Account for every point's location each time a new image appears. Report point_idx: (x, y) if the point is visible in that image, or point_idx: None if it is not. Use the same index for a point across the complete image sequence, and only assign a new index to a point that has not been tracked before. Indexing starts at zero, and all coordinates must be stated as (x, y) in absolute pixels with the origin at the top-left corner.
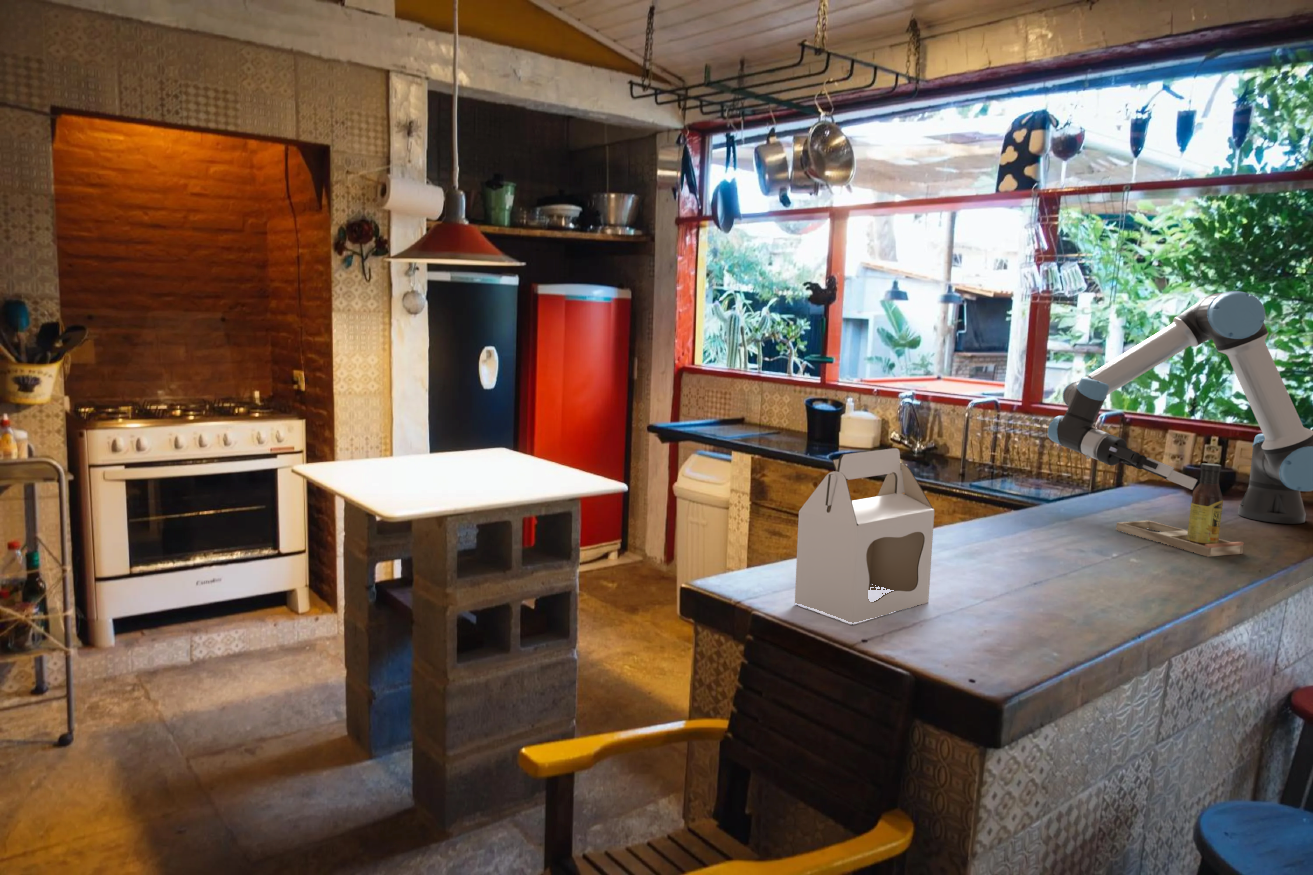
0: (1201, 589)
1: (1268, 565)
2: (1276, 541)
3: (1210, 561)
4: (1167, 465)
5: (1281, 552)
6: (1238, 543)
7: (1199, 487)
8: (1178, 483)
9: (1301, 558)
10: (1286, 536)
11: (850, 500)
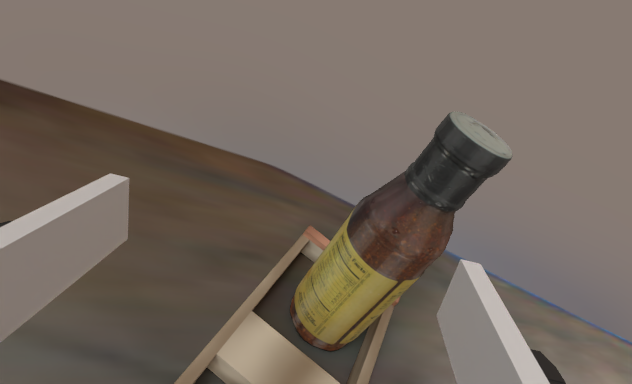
0: (565, 332)
1: None
2: (87, 142)
3: (415, 308)
4: (490, 287)
5: (225, 173)
6: (323, 236)
7: (450, 227)
8: (66, 284)
9: (256, 161)
10: None
11: None
